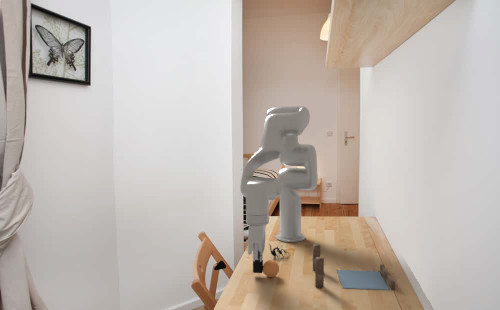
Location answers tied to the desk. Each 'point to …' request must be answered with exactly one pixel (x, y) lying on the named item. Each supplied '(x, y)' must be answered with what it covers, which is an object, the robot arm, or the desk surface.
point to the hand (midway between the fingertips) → (258, 271)
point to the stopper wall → (387, 277)
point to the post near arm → (315, 253)
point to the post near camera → (319, 272)
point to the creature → (278, 251)
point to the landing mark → (362, 280)
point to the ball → (271, 268)
